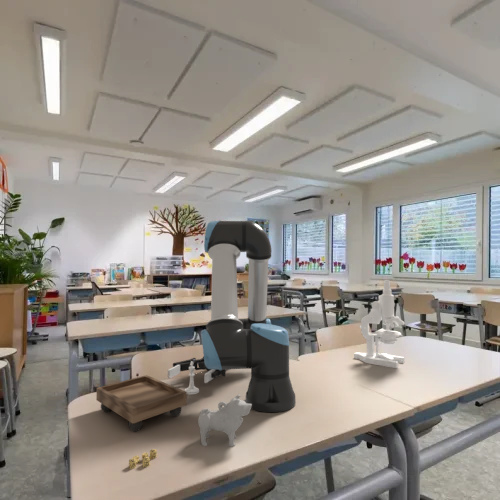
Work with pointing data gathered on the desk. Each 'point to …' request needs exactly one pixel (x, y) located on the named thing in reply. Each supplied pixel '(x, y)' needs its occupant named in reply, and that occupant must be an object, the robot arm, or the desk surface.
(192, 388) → the chess piece
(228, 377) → the desk surface
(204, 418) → the white dog statue
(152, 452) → the dice set
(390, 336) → the microscope
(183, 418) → the desk surface
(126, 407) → the caster cart
